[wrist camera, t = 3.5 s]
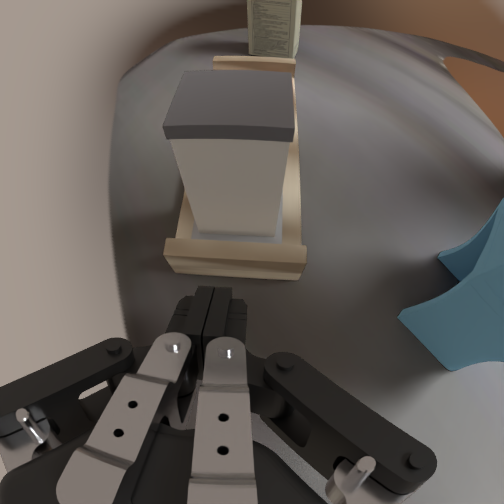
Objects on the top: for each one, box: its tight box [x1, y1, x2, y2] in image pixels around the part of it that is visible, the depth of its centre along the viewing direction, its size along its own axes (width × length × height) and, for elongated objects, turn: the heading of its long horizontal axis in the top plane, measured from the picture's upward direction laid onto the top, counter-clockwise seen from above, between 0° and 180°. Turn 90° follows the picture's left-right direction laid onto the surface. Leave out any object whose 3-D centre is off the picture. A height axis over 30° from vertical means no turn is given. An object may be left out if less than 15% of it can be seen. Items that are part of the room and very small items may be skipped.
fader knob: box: [163, 70, 295, 244], centre depth 16 cm, size 5×6×11 cm
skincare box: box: [247, 0, 302, 59], centre depth 28 cm, size 6×4×12 cm
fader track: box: [163, 56, 307, 280], centre depth 25 cm, size 24×9×4 cm, turn 177°
